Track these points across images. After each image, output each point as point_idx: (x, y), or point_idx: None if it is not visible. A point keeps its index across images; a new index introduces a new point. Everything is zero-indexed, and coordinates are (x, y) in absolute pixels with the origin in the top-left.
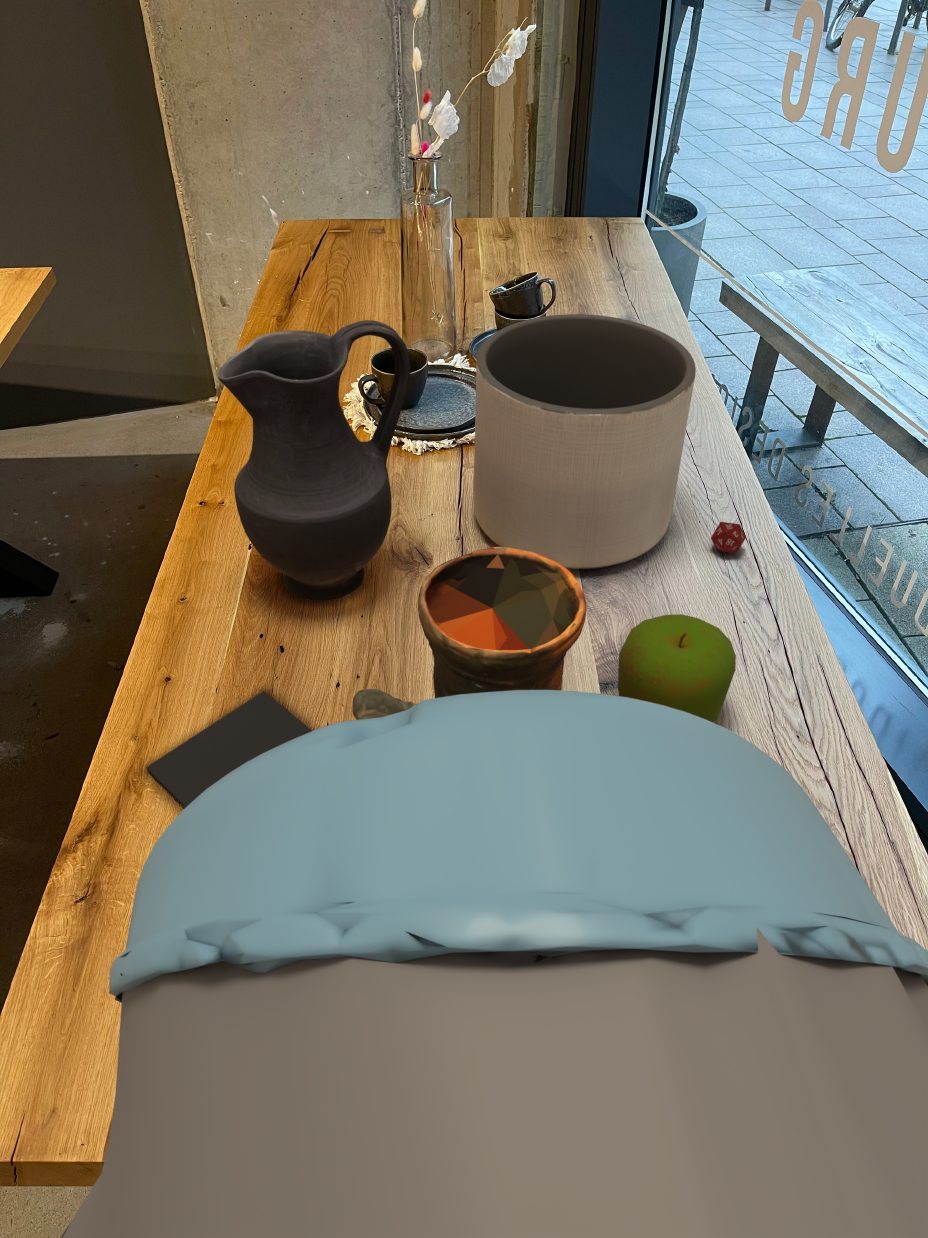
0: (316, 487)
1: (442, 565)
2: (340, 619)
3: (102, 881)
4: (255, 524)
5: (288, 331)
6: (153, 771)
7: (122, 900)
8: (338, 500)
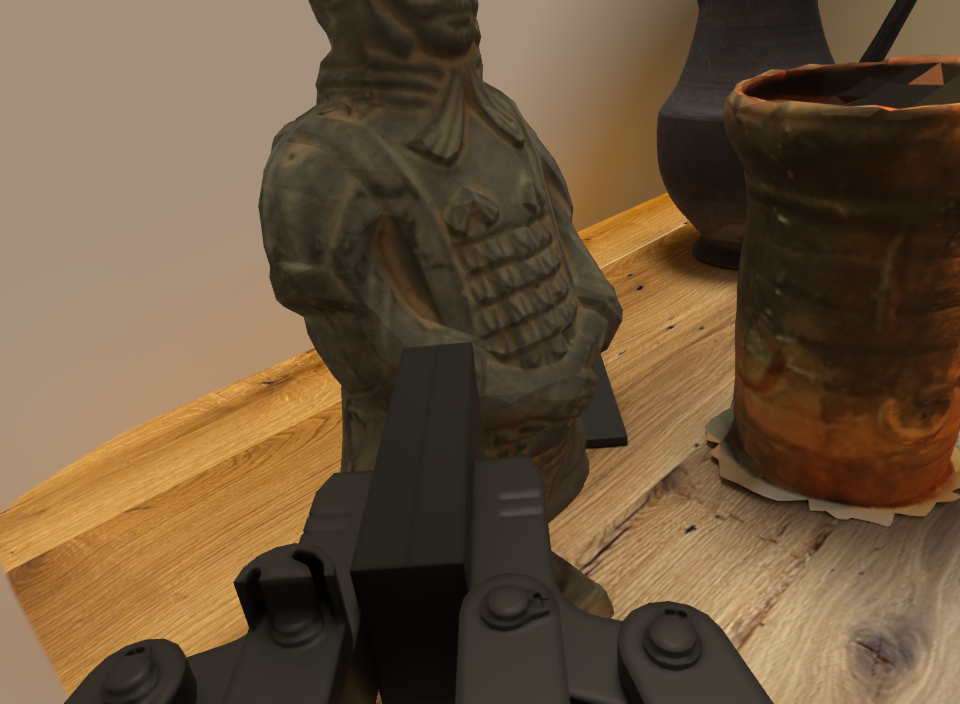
0: (739, 79)
1: (821, 65)
2: (728, 284)
3: (296, 378)
4: (661, 132)
5: None
6: None
7: (290, 397)
8: None
